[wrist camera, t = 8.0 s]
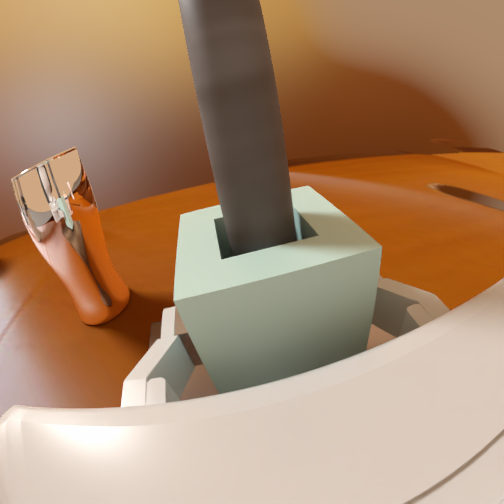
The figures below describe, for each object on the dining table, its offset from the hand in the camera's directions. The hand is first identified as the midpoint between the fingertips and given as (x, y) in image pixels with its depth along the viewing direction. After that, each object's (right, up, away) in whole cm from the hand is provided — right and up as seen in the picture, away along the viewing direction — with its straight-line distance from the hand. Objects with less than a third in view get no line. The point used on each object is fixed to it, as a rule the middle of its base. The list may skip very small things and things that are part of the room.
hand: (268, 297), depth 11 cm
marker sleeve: (+1, -4, +2) cm, 5 cm away
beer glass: (-15, -4, +14) cm, 21 cm away
